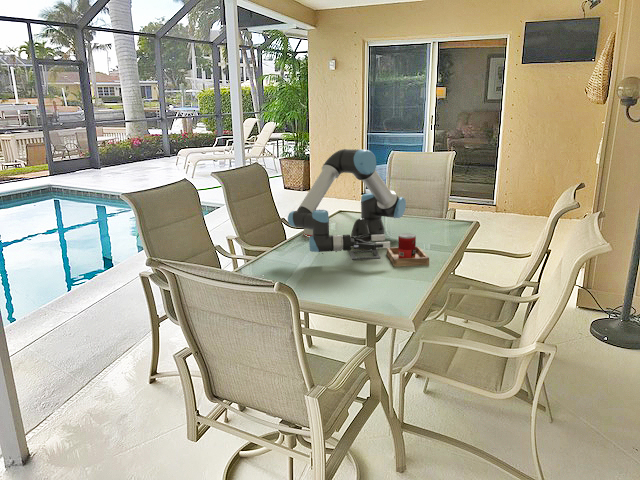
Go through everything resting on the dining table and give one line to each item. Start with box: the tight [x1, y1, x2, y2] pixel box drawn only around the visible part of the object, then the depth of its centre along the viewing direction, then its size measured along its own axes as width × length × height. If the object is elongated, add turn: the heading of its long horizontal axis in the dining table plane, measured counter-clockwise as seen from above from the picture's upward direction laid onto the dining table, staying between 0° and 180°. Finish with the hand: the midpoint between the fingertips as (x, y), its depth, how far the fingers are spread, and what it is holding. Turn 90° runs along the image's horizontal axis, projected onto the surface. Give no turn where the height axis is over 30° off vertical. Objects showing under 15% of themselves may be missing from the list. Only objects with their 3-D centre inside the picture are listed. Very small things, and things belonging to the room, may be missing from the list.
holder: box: [348, 248, 381, 261], centre depth 241 cm, size 14×14×4 cm
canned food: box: [397, 232, 417, 258], centre depth 231 cm, size 8×8×11 cm
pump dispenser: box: [350, 217, 371, 242], centre depth 254 cm, size 10×10×15 cm
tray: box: [386, 245, 430, 267], centre depth 232 cm, size 20×16×3 cm
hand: (387, 240), depth 229 cm, fingers open, 13 cm apart
